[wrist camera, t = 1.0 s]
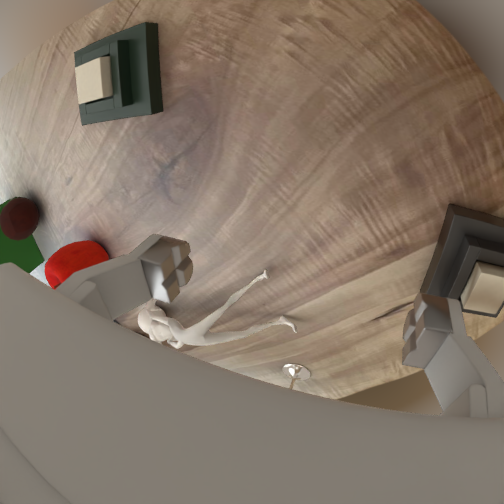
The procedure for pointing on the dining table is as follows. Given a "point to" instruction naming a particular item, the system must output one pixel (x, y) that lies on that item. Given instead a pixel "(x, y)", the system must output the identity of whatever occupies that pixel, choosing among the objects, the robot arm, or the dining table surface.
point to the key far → (94, 80)
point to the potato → (19, 218)
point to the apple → (73, 260)
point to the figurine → (198, 334)
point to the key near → (484, 288)
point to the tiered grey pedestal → (464, 252)
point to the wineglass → (296, 373)
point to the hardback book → (19, 250)
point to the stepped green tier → (126, 74)
